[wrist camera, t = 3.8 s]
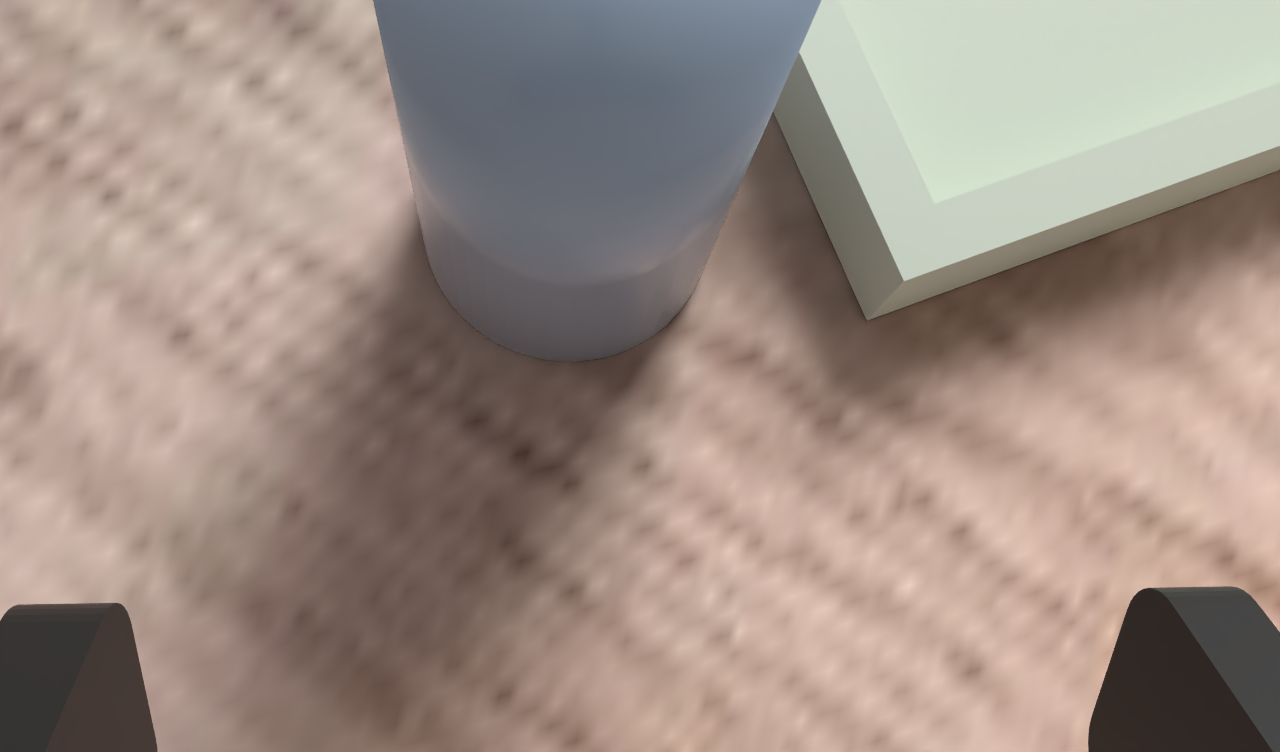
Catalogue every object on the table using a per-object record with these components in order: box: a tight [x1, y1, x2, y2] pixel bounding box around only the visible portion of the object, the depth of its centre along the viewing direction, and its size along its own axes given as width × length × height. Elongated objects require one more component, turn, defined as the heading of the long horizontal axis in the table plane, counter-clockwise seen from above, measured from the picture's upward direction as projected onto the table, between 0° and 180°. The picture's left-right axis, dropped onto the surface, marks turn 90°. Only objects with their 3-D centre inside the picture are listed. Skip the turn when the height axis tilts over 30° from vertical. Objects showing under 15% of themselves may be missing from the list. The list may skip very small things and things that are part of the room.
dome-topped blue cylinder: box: [373, 0, 822, 362], centre depth 20 cm, size 6×6×11 cm
